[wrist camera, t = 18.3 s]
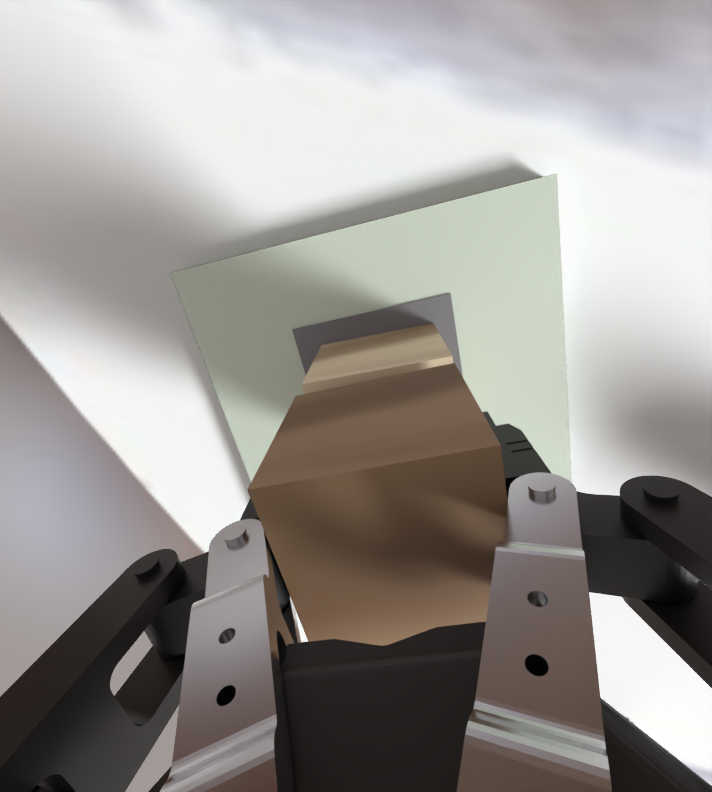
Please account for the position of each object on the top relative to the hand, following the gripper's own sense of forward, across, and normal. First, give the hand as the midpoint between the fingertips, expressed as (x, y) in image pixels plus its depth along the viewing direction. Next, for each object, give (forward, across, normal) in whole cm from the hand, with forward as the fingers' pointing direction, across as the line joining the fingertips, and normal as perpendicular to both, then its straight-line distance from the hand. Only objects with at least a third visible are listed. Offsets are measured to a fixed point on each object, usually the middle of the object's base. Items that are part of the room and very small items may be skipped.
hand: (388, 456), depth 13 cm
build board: (+8, 0, 0) cm, 8 cm away
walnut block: (0, 0, 0) cm, 0 cm away
